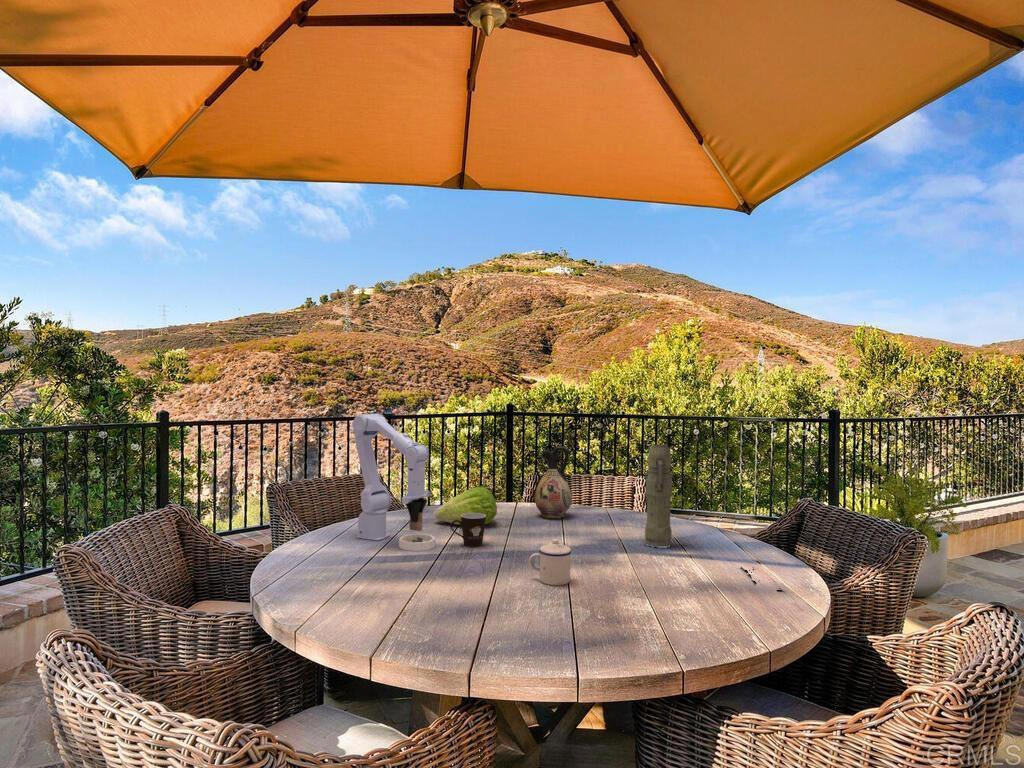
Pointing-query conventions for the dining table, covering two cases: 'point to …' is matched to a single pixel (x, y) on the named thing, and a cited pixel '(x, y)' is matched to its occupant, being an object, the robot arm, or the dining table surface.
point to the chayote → (468, 505)
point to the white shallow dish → (417, 542)
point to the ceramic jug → (553, 486)
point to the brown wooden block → (417, 523)
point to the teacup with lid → (553, 563)
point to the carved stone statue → (658, 496)
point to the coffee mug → (472, 529)
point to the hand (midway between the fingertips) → (415, 521)
